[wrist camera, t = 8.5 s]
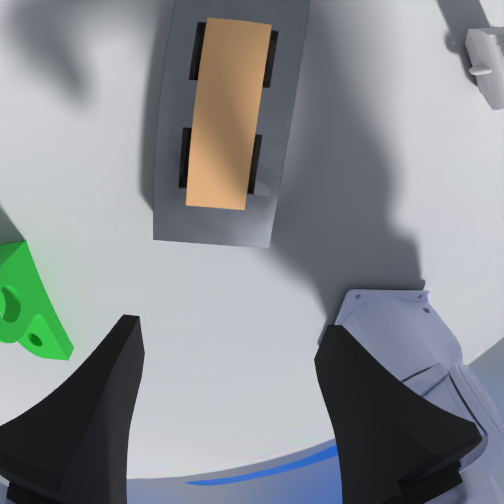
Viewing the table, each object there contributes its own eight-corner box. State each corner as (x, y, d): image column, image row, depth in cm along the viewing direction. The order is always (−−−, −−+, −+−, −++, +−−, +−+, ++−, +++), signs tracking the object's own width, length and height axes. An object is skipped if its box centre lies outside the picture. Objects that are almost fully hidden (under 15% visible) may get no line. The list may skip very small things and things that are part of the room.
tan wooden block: (258, 45, 14) (271, 24, 10) (238, 182, 18) (244, 210, 14) (211, 40, 14) (207, 17, 9) (194, 178, 18) (186, 205, 14)
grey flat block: (300, 1, 13) (311, -11, 11) (263, 231, 20) (268, 248, 18) (186, -12, 12) (182, -27, 9) (160, 223, 19) (153, 239, 17)
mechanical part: (-14, 246, 18) (-63, 296, 11) (27, 239, 19) (-27, 297, 12) (33, 343, 24) (6, 398, 17) (74, 346, 24) (50, 409, 17)
